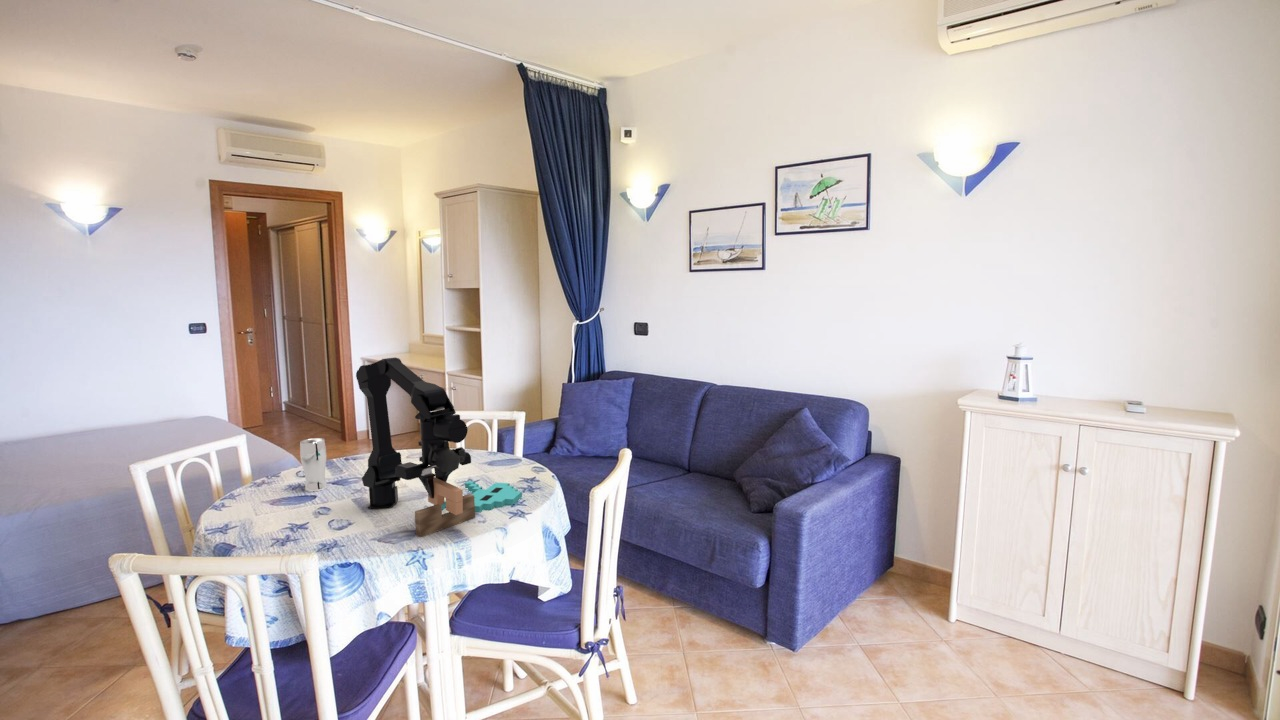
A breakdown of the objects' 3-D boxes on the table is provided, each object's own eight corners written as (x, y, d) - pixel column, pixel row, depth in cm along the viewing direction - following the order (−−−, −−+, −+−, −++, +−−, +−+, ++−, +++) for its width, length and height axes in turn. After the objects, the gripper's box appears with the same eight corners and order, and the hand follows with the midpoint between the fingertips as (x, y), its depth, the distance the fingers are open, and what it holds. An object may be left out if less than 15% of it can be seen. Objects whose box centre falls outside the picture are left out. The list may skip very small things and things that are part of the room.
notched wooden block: (420, 537, 152) (419, 513, 151) (416, 535, 153) (414, 511, 153) (475, 517, 164) (474, 495, 164) (470, 515, 166) (469, 493, 165)
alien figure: (434, 511, 171) (503, 515, 167) (434, 503, 170) (502, 507, 166) (468, 488, 190) (530, 491, 186) (468, 481, 190) (530, 484, 186)
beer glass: (297, 491, 188) (293, 442, 186) (314, 484, 195) (311, 437, 193) (317, 493, 186) (313, 443, 185) (334, 485, 193) (330, 438, 191)
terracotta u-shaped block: (462, 512, 155) (462, 489, 154) (455, 515, 154) (455, 491, 153) (435, 499, 163) (434, 477, 162) (428, 501, 161) (427, 479, 160)
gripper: (417, 450, 146) (421, 514, 148) (482, 434, 161) (485, 493, 163) (392, 443, 153) (395, 504, 155) (457, 428, 168) (459, 485, 170)
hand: (436, 496), depth 160 cm, fingers closed on terracotta u-shaped block, 2 cm apart
